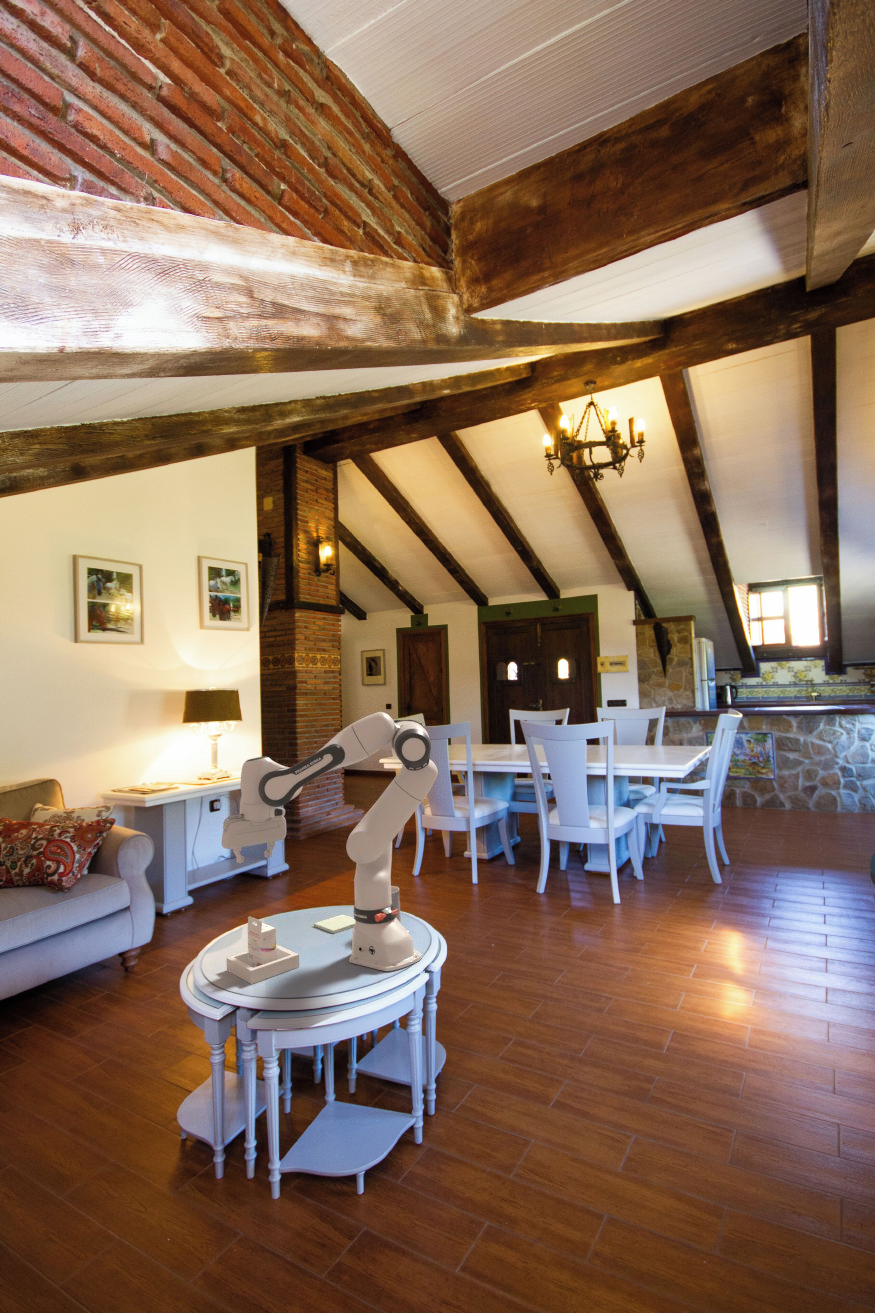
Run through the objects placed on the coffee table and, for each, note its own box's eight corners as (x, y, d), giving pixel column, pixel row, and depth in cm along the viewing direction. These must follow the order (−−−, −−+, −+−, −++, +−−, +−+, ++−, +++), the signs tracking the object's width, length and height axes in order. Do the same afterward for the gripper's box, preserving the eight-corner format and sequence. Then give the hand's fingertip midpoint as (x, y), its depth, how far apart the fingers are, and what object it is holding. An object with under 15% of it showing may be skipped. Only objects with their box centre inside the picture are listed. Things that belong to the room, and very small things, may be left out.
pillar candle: (366, 932, 214) (364, 886, 215) (389, 924, 220) (387, 879, 221) (384, 940, 207) (381, 891, 208) (407, 931, 213) (405, 884, 214)
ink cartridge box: (278, 969, 187) (276, 917, 188) (262, 975, 183) (261, 921, 185) (263, 962, 193) (261, 911, 194) (247, 968, 190) (246, 916, 191)
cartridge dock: (299, 967, 188) (298, 954, 188) (251, 984, 178) (251, 971, 178) (273, 954, 199) (272, 943, 199) (226, 970, 188) (226, 957, 189)
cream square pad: (363, 924, 223) (362, 921, 223) (333, 933, 215) (333, 930, 215) (342, 917, 232) (342, 914, 232) (313, 926, 223) (313, 923, 223)
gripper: (229, 817, 183) (228, 868, 181) (289, 809, 198) (289, 855, 197) (217, 815, 187) (216, 864, 186) (277, 807, 202) (276, 852, 201)
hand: (254, 860), depth 191 cm, fingers open, 8 cm apart
